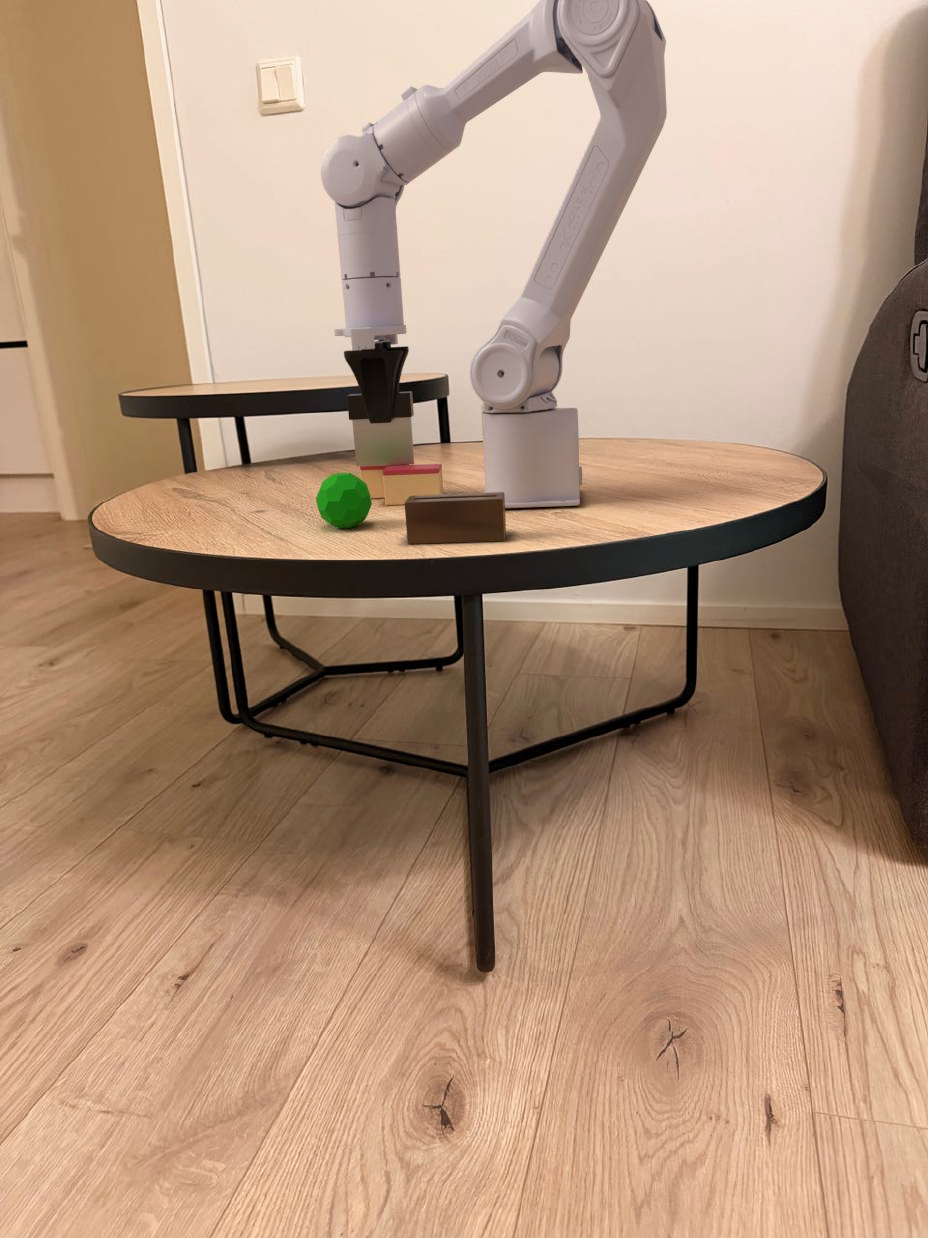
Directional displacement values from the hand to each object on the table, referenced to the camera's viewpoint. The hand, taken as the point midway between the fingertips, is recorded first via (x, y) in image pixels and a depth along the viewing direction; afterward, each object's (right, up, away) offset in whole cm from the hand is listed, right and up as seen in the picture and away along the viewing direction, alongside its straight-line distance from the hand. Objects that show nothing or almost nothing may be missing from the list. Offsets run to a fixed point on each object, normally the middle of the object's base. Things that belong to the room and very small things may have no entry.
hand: (382, 421), depth 93 cm
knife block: (+8, -13, -17) cm, 23 cm away
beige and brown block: (0, -4, +1) cm, 4 cm away
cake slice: (0, -7, +4) cm, 8 cm away
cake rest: (+3, -8, 0) cm, 9 cm away
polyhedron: (-2, -12, -10) cm, 15 cm away
